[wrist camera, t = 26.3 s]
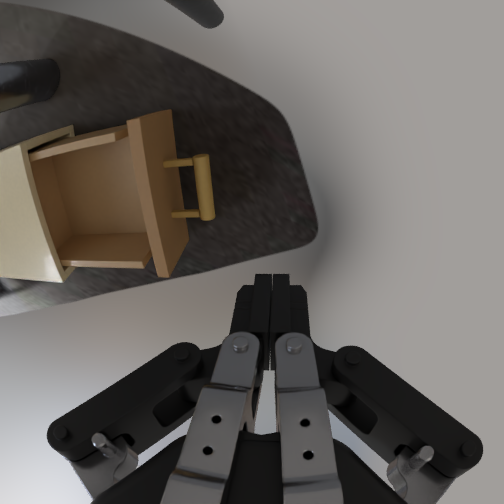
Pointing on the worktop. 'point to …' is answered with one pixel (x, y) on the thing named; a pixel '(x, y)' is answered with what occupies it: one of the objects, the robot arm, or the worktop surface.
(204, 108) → the worktop surface
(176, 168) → the drawer
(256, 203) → the worktop surface
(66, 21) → the worktop surface
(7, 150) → the cabinet
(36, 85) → the metal can
